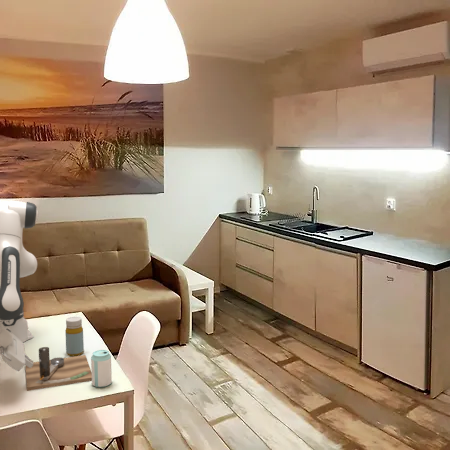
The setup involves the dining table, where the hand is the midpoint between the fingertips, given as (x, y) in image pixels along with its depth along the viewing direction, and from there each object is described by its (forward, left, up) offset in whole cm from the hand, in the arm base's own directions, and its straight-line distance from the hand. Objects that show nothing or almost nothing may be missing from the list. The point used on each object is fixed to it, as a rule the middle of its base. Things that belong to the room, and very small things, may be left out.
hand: (32, 364), depth 187 cm
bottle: (-24, +17, -8) cm, 31 cm away
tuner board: (-7, +9, -8) cm, 14 cm away
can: (+8, +23, -8) cm, 26 cm away
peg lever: (-5, +7, -6) cm, 10 cm away
